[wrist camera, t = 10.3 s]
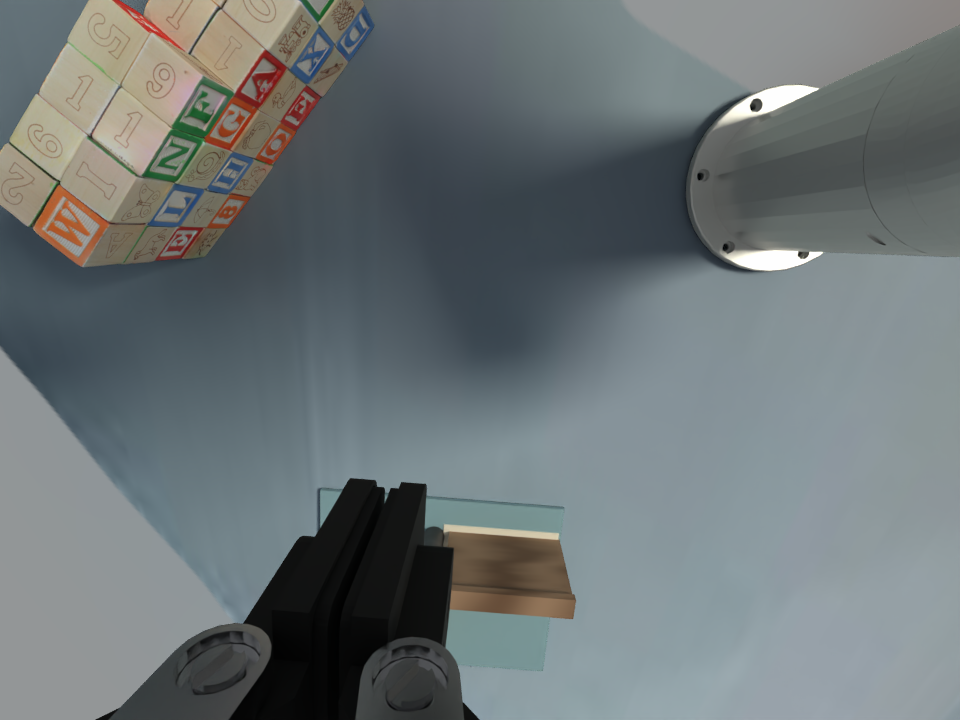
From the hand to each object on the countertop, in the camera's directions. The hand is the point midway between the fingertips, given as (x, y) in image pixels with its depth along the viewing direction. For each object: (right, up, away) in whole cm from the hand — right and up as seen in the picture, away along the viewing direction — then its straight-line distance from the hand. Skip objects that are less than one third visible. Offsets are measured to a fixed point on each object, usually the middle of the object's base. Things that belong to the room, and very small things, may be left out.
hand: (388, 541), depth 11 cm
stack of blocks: (-15, +22, +25) cm, 36 cm away
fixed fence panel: (+3, -12, +32) cm, 34 cm away
